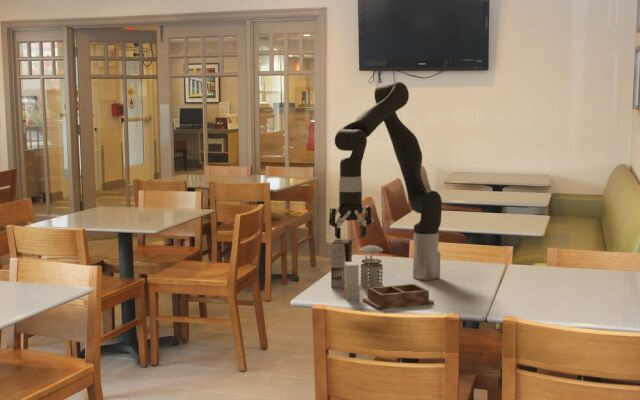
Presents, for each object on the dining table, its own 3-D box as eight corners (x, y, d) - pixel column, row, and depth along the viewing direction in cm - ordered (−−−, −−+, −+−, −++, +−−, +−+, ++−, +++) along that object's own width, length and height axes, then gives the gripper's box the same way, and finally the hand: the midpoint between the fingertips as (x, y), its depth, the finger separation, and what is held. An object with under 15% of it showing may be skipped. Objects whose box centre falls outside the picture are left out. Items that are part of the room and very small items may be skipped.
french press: (388, 285, 275) (388, 216, 272) (380, 292, 264) (380, 221, 261) (362, 283, 278) (362, 215, 275) (352, 290, 268) (353, 220, 265)
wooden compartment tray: (416, 295, 260) (417, 282, 259) (433, 304, 249) (434, 290, 248) (362, 301, 253) (362, 287, 253) (377, 310, 242) (377, 296, 241)
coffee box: (348, 288, 271) (348, 243, 269) (330, 287, 272) (330, 243, 270) (352, 282, 280) (352, 239, 278) (335, 282, 281) (335, 238, 279)
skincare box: (344, 296, 260) (344, 261, 258) (356, 295, 260) (356, 261, 259) (346, 300, 254) (346, 265, 252) (359, 300, 254) (359, 265, 253)
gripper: (366, 188, 259) (365, 235, 261) (326, 189, 254) (326, 237, 256) (374, 190, 252) (374, 238, 254) (334, 191, 247) (334, 241, 249)
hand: (350, 238), depth 255 cm, fingers open, 8 cm apart
